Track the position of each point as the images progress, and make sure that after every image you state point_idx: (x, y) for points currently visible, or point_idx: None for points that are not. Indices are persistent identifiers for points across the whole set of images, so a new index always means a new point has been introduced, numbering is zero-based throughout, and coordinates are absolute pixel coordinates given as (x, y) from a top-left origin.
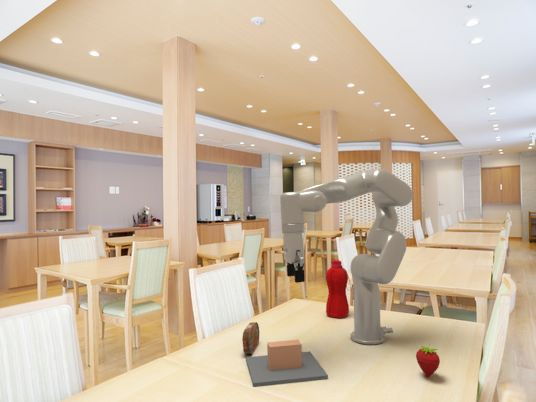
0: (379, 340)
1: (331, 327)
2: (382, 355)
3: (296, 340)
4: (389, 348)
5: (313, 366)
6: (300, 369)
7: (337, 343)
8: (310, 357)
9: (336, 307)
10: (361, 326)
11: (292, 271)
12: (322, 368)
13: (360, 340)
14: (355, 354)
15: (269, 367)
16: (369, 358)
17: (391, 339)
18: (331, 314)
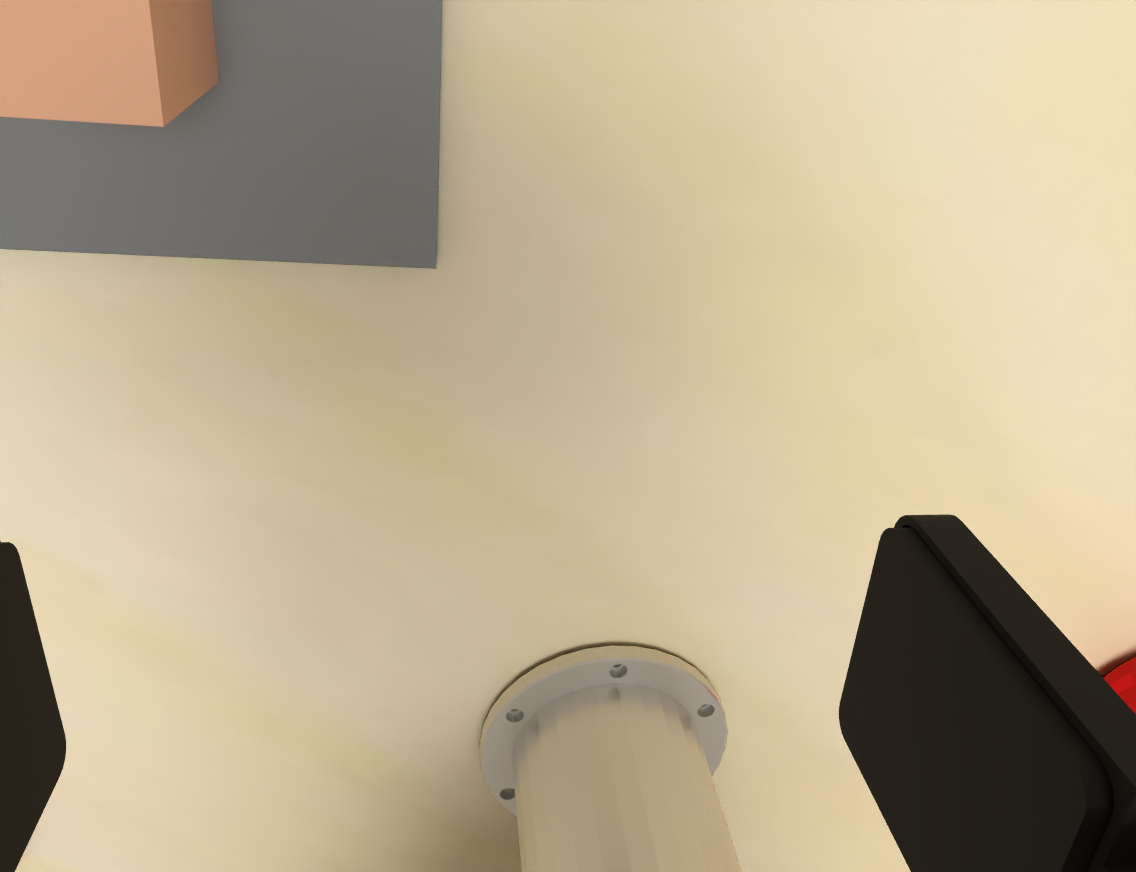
0: (493, 784)
1: None
2: (297, 717)
3: (136, 96)
4: (400, 787)
5: (91, 185)
6: None
7: (592, 534)
8: (295, 225)
9: None
10: (563, 779)
11: (914, 740)
12: (41, 248)
13: (531, 687)
14: (351, 578)
15: None
16: (262, 633)
17: None
18: (1125, 681)
